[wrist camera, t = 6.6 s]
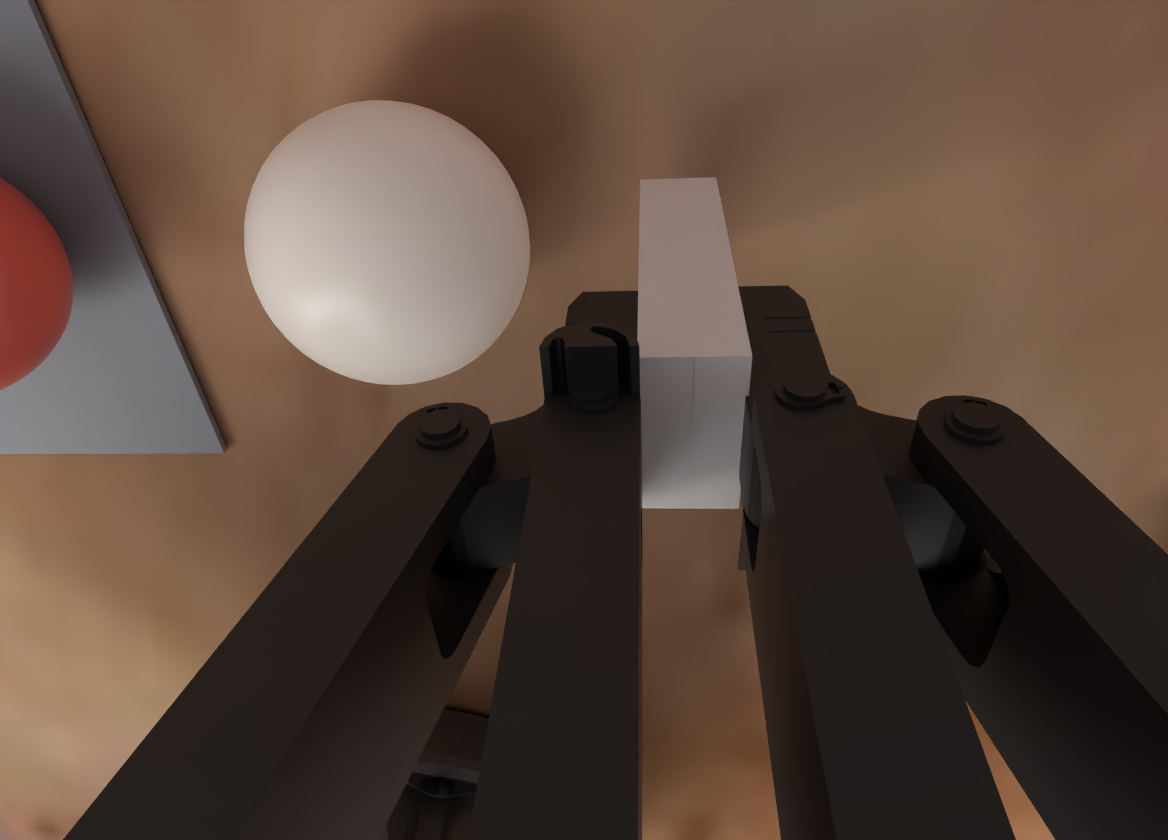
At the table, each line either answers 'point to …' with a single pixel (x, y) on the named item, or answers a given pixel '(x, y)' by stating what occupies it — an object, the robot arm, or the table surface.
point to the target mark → (88, 281)
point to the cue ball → (387, 242)
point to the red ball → (29, 286)
